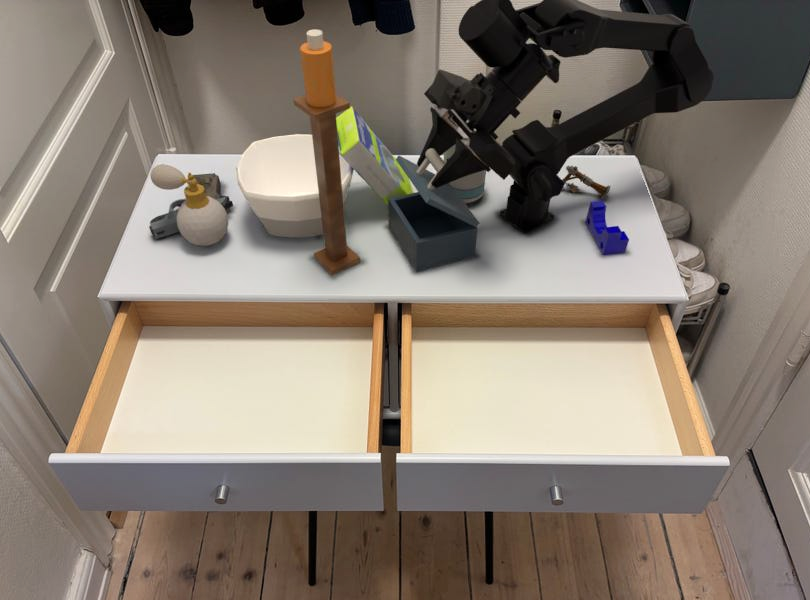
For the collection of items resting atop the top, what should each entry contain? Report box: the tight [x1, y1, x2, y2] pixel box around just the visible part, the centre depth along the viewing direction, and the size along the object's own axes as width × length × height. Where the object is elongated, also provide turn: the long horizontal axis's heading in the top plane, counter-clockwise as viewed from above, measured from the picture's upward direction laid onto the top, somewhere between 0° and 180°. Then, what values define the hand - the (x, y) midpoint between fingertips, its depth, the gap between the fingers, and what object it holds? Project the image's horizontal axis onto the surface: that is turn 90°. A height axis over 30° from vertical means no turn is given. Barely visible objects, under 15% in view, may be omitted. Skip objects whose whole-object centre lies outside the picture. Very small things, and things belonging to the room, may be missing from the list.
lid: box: [395, 148, 481, 227], centre depth 95 cm, size 10×12×5 cm
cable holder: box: [584, 200, 630, 256], centre depth 101 cm, size 8×4×4 cm, turn 8°
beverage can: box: [442, 120, 487, 205], centre depth 106 cm, size 7×7×12 cm
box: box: [336, 105, 414, 206], centre depth 103 cm, size 10×4×17 cm
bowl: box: [236, 133, 355, 238], centre depth 103 cm, size 18×18×9 cm
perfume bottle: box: [150, 163, 229, 247], centre depth 98 cm, size 8×10×12 cm
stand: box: [293, 93, 361, 276], centre depth 90 cm, size 5×5×25 cm
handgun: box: [148, 172, 234, 240], centre depth 107 cm, size 2×14×12 cm
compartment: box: [387, 191, 479, 273], centre depth 100 cm, size 10×12×5 cm
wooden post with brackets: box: [561, 165, 611, 201], centre depth 109 cm, size 2×8×4 cm, turn 72°
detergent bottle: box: [299, 28, 337, 108], centre depth 78 cm, size 4×4×8 cm
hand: (426, 175), depth 93 cm, fingers closed on lid, 5 cm apart
